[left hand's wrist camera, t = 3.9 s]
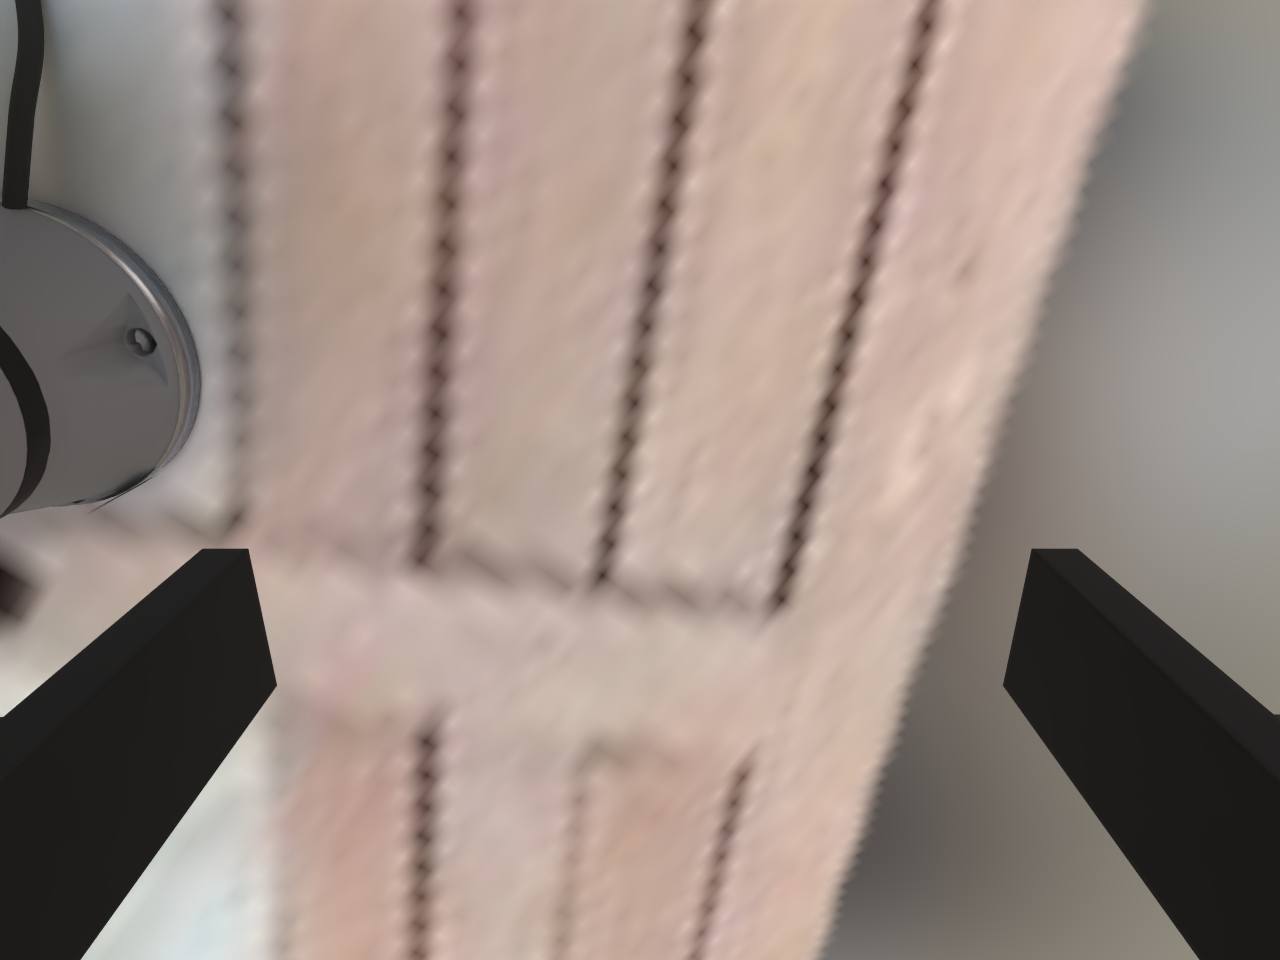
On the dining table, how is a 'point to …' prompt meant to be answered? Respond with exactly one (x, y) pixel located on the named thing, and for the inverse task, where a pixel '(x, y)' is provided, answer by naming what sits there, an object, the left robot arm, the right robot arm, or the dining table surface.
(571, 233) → the dining table surface
